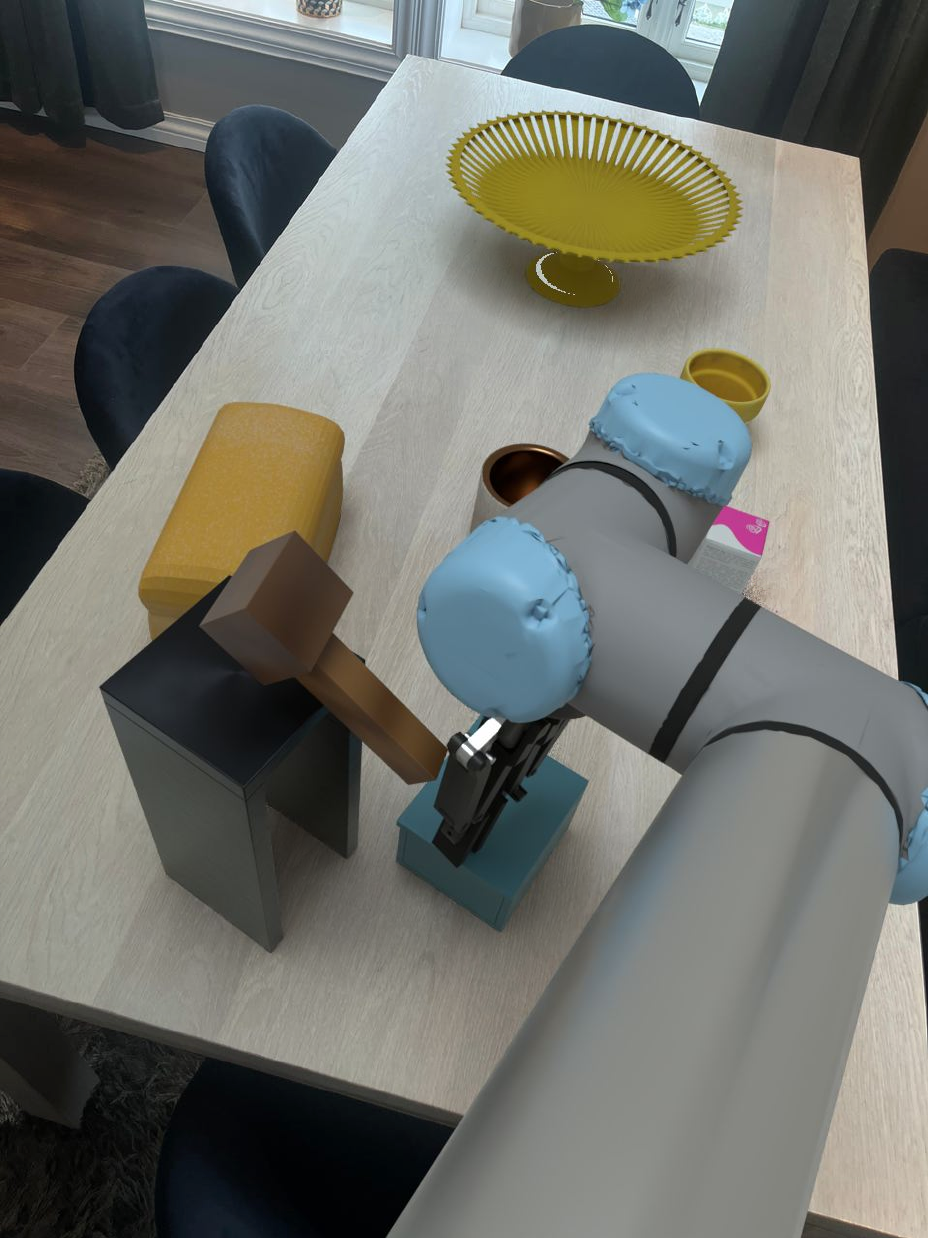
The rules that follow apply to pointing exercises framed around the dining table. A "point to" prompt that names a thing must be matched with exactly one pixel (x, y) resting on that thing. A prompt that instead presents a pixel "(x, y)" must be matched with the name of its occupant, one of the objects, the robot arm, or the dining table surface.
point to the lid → (506, 824)
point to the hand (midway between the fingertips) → (456, 845)
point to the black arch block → (229, 768)
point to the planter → (512, 477)
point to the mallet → (316, 650)
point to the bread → (244, 502)
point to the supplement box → (731, 548)
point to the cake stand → (590, 202)
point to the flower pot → (729, 379)
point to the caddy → (470, 877)
